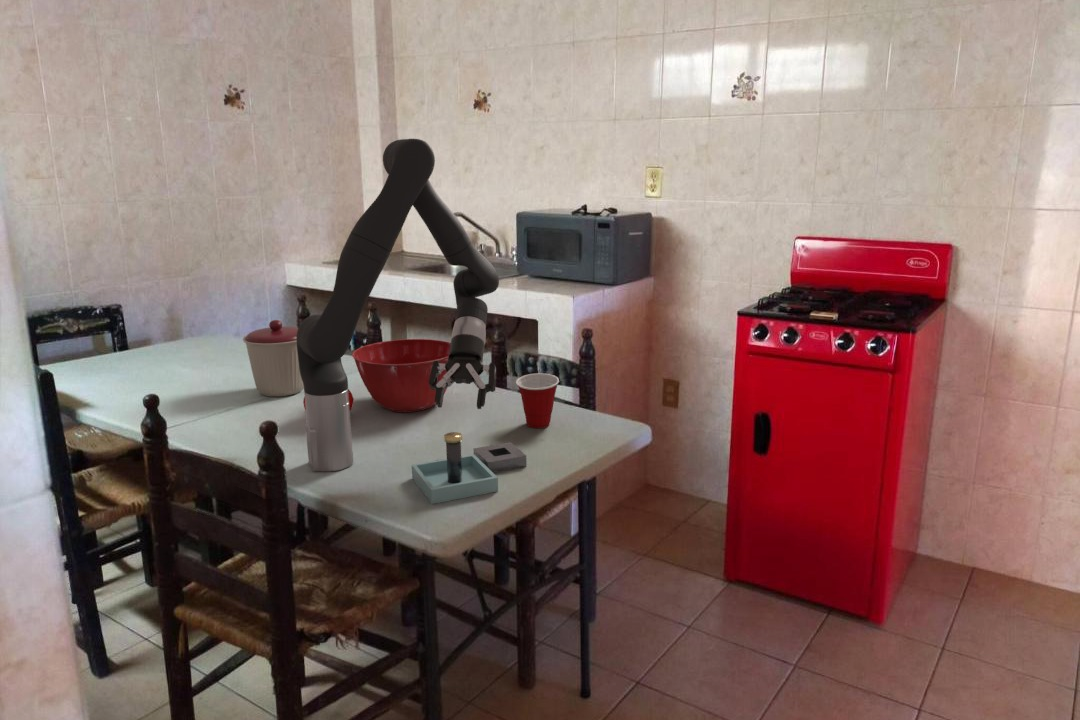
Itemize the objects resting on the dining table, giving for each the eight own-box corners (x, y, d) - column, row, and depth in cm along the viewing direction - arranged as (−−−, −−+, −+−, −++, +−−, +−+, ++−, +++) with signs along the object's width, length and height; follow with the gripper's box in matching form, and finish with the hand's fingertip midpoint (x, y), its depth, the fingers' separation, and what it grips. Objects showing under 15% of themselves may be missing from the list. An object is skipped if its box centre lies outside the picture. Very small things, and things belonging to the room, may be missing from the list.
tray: (431, 503, 155) (431, 489, 154) (412, 477, 167) (411, 464, 166) (498, 491, 160) (497, 477, 159) (474, 466, 173) (474, 454, 172)
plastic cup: (508, 427, 197) (507, 381, 194) (529, 415, 206) (529, 371, 203) (546, 434, 192) (546, 387, 189) (566, 421, 201) (566, 376, 198)
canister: (313, 380, 238) (307, 312, 232) (315, 397, 221) (309, 324, 216) (249, 385, 232) (242, 316, 227) (247, 404, 216) (239, 329, 210)
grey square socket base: (488, 473, 169) (487, 462, 169) (473, 458, 177) (473, 448, 176) (526, 466, 173) (526, 455, 172) (510, 452, 181) (510, 442, 180)
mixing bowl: (334, 405, 214) (330, 350, 210) (417, 383, 234) (415, 332, 230) (398, 429, 196) (395, 370, 192) (482, 403, 216) (481, 348, 212)
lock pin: (449, 485, 161) (447, 439, 158) (444, 478, 164) (442, 433, 162) (466, 482, 163) (464, 436, 160) (460, 475, 166) (458, 431, 163)
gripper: (433, 332, 173) (422, 397, 164) (497, 333, 171) (490, 399, 163) (439, 349, 179) (429, 413, 171) (501, 351, 178) (494, 415, 170)
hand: (459, 406), depth 167 cm, fingers open, 8 cm apart
